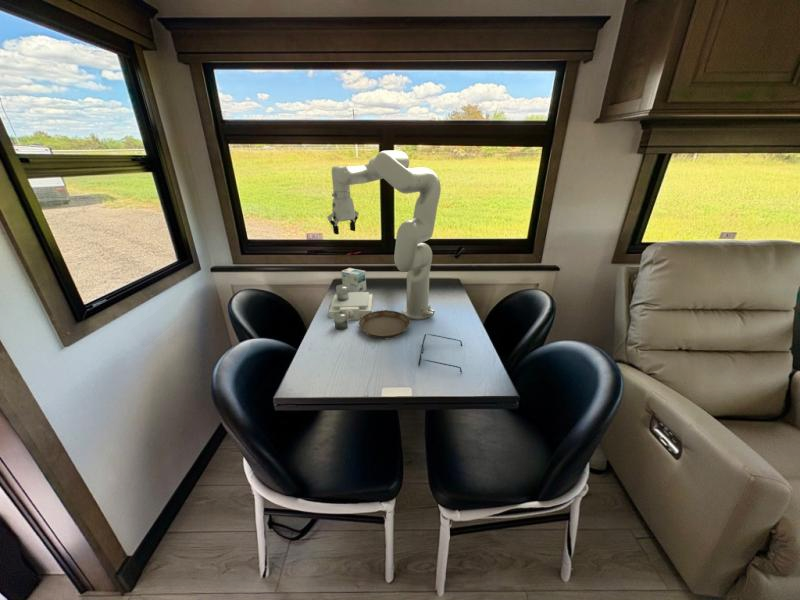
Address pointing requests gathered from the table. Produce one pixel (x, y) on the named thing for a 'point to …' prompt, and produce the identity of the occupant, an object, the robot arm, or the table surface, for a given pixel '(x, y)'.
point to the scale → (353, 305)
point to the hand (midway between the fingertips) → (344, 232)
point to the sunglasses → (437, 362)
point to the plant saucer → (384, 324)
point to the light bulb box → (354, 280)
